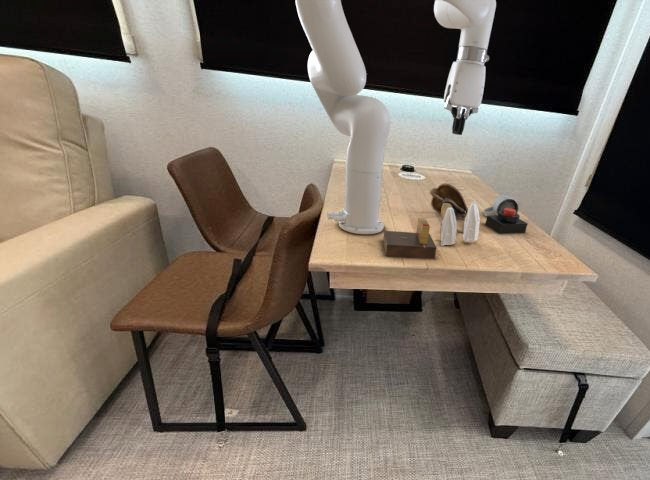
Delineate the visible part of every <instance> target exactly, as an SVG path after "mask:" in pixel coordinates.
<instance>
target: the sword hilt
mask: <svg viewBox="0 0 650 480" xmlns="http://www.w3.org/2000/svg"><path fill="white" fill-rule="evenodd" d="M429 194H430V195H431V199H430V200H431V201H430V206H431V207H432V209H433V210H434V211H435V212H436V213H437V214H439V215H441V220H442V222H443V219H444V216H445V213H446V211H447V209H448V208H451V207H452V208H453V210H454V213H455V217H456V218H461V219H465V218H466V215H467V213H468V210H469V207H468V206H467V204H466V201H465V198H464V197H463V194H462V193H461V192H460V191H459V189H458V188H457V187H455V186H454V185H452V184H451V183H445V182H444V183H441V184H439V185H438V186H437V187H433V188H432V189H431V190H430V191H429ZM442 222H441V223H440V229H441V228H442ZM456 233H464V229H459V228H457V231H456Z"/></svg>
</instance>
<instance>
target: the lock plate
mask: <svg viewBox="0 0 650 480" xmlns="http://www.w3.org/2000/svg"><path fill="white" fill-rule="evenodd" d="M382 238H383V239H382V243H383V248H384V254H385V257H395V258H396V257H397V258H412V259H413V258H414V259H415V258H416V259H418V258H419V259H434V260H435V258H436V252H437V246H436V243H435V241H437V242H441V239H435V241H434V240H433V238H432V235H431V234H430V233H429V235H428V241H427V244H420V243H419V241H418V238H417V236H416V232H410V231H409V232H408V231H395V230H394V231H393V230H383V237H382Z"/></svg>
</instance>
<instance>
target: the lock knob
mask: <svg viewBox="0 0 650 480" xmlns="http://www.w3.org/2000/svg"><path fill="white" fill-rule="evenodd" d="M430 228H431V226H430V224H429V222H428V221H427V219H426V217H417V225H416V231H415V233H416V236H417V238H418V241H419V243H420V244H427V241H428V235H429V234H430Z"/></svg>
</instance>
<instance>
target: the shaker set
mask: <svg viewBox="0 0 650 480" xmlns="http://www.w3.org/2000/svg"><path fill="white" fill-rule="evenodd" d="M480 219H481V218H480V212H479V208H478V204H477V203H476V202H473V203H471V204H470V207H468V213H467V215H466V218H464V223H463V230H464V232H462V233H463V235H462V239H463V242H465V243H466V244H467V245H470V244H473V243H475V242H476V241H477V240H478V239H479V232H480V224H481V223H480V222H481V220H480ZM442 220H443V221H442V222H441V223H442V228H441V227H440V240H441V241H440V246H442V247H444V246H446V245H447V246H451V245H455V244H456V241H457V229H458V224H457V217H455V213H454V210H453V208H452V207H451V208H448V209H447V211H446V213H445V216H444V219H442Z"/></svg>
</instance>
